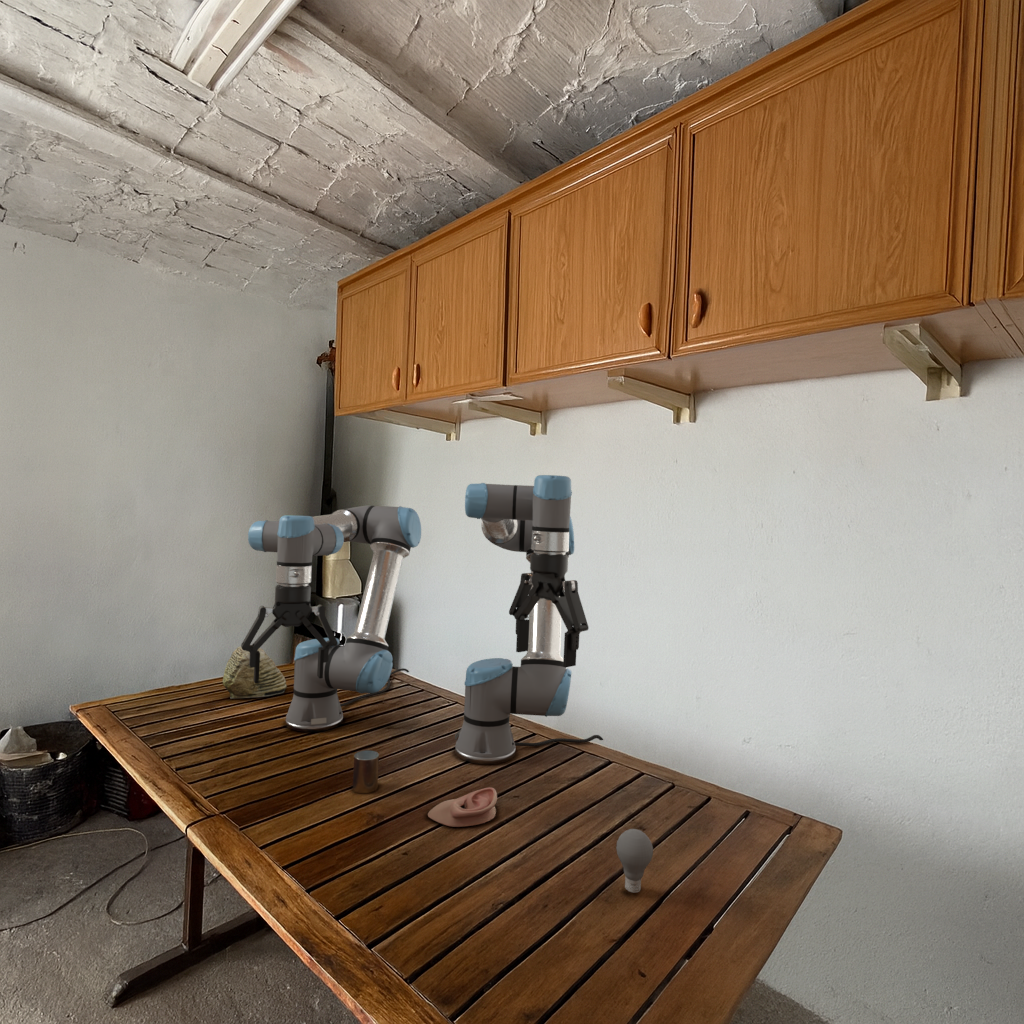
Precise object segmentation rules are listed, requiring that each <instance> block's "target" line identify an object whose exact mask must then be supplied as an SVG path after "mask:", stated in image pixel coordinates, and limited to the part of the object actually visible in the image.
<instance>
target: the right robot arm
mask: <svg viewBox="0 0 1024 1024" xmlns="http://www.w3.org/2000/svg"><path fill="white" fill-rule="evenodd" d="M572 494H573V491H572V479H571V478H570V477H569V476H567V475H556V474H537V476H535V478H534V481H533V485H523V484H519V485H518V484H496V483H485V482H481V483H469V484H468V485H467V486H466V489H465V495H464V511H465V515H466V517H467V518H470V519H471V518H472V519H477V520H480V519H481V531H482V533H483V536H484V537H485V539H486V540H487V541H489V542H490V543H491V544H492V545H494V546H497V547H499V548H501V549H504V550H507V551H510V552H517V553H525V559H526V560H527V561H528V562H529V570H530V572H523V573H521V574H520V581H519V586H518V588H517V590H516V592H515V596H514V597H513V600H512V603H511V605H510V608H509V609H508V614H509V615H510V616H513V617H514V619H515V635H516V642H515V643H516V645H515V646H516V647H515V652H516V653H525V652H526V654H525V655H524V656H523V657H522V658H521V659H520V666H514V665H513V662H512V660H511V659H508V658H502V657H493V658H491V657H490V658H484V659H480V660H477V661H474V662H472V663H471V664H469V665H468V667H466V671H465V680H464V703H463V705H464V706H463V707H464V708H463V722H462V725H461V728H460V729H459V730H458V731H457V732H456V733H455V734H454V740H456V741H455V746H454V747H455V748H454V753H455V755H456V756H457V757H458V758H459V759H461V760H463V761H465V762H467V763H472V764H476V765H497V764H498V765H499V764H502V763H506V762H508V761H511V760H512V759H513V758H514V757H515V756H516V747H541V746H545V745H548V744H549V745H550V744H552V743H573V744H585V743H590V742H591V741H593V740H595V739H598V740H599V741H604V738H603V737H602V736H601V735H600V734H594V735H591V736H590V737H587V738H582V739H579V738H578V739H577V738H566V737H565V738H564V737H561V738H560V737H559V738H551V739H547V740H543V741H539V742H523V741H522V742H520V741H519V742H516V741H515V740H514V736H513V732H512V728H511V724H510V719H511V718H510V716H511V715H522V716H523V715H524V716H525V715H526V716H539V717H546V718H547V717H561V716H563V715H564V714H565V712H566V710H567V705H568V700H569V695H570V690H571V682H572V681H571V680H572V674H573V673H572V670H571V669H570V667H576V666H577V651H578V650H579V648H580V634H581V633H582V632H587V631H589V624H588V621H587V617H586V614H585V610H584V607H583V604H582V600H581V597H580V594H579V585H578V580H576V579H573V580H572V579H571V580H566V573H568V571H569V560H570V556H571V555H573V554H575V533H574V524H573V519H572V517H571V505H572ZM562 622H563V624H564V626H565V628H566V629H567V631H565V632H564V639H563V657H562V655H561V649H562V646H561V645H562Z"/></svg>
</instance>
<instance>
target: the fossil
mask: <svg viewBox="0 0 1024 1024" xmlns="http://www.w3.org/2000/svg"><path fill="white" fill-rule="evenodd" d="M257 651H259V652H260V666H259V683H255V682H254V667H250V665H249V657H250V652H249V651H244V650H242V647H241V646H238V647H237V648H236V649H235V650H233V651H232V653H231V656H230V657H229V659H228V660H227V663H226V666H225V668H224V671H223V675H222V676H223V677H222V685H223V687H224V688H225V690H226V691H228V693H229V698H230V699H250V698H264V697H271V696H275V695H281V694H284V693H285V691H286V689H287V687H288V686H287V680H286V678H285V676H284V674H283V673H282V672H281V669H279V668H278V667H277V665H276V663H275V662H274V660H273V659H272V658H271V657H270V656H269V655H268V654H267V653H266V652H265V650H264V649H263V648H262V647H260V648H259V649H258V650H257Z"/></svg>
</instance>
